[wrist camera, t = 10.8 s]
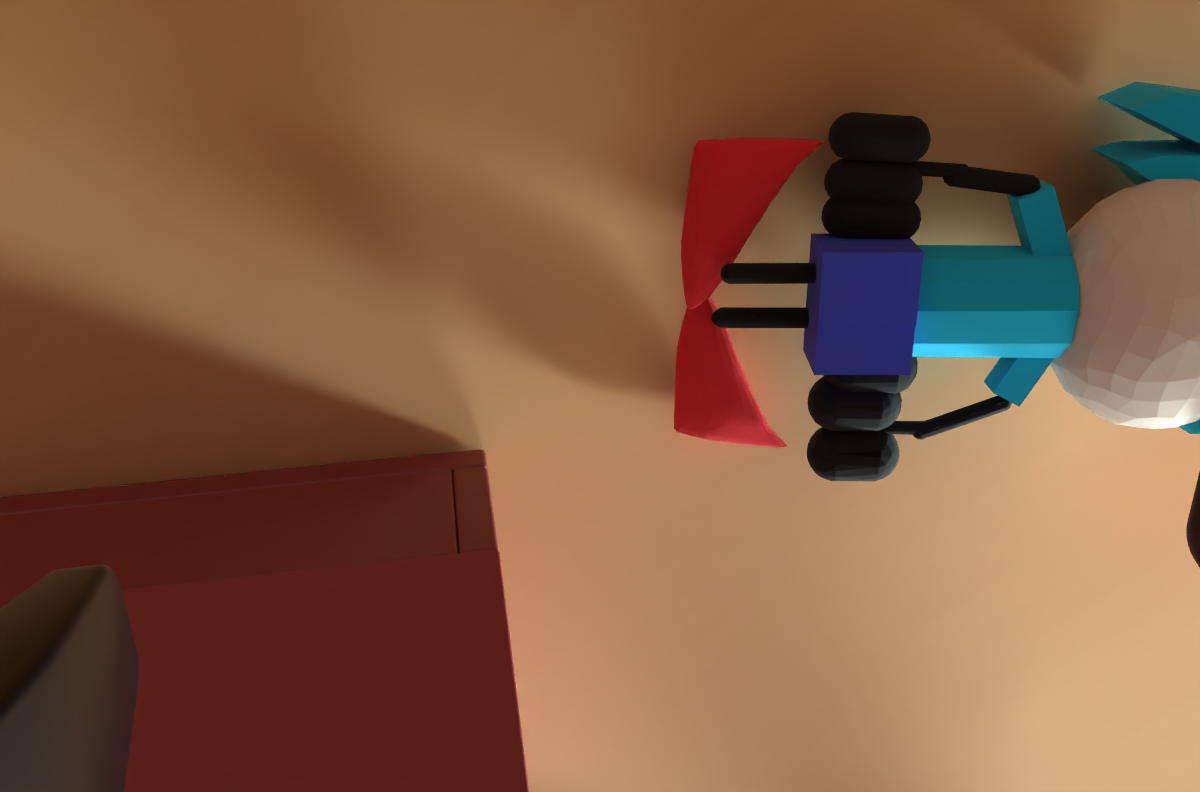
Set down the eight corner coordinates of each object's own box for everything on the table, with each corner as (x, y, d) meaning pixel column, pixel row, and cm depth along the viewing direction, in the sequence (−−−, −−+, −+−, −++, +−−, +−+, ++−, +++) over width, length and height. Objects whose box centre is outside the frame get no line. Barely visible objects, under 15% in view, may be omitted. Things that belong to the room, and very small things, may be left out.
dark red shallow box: (516, 832, 28) (532, 964, 25) (-198, 934, 26) (-283, 1093, 23) (484, 447, 23) (498, 548, 20) (-398, 535, 21) (-542, 664, 18)
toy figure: (669, 429, 26) (1349, 430, 25) (679, 535, 21) (1510, 539, 21) (676, 78, 23) (1441, 77, 23) (690, 114, 18) (1650, 111, 18)
